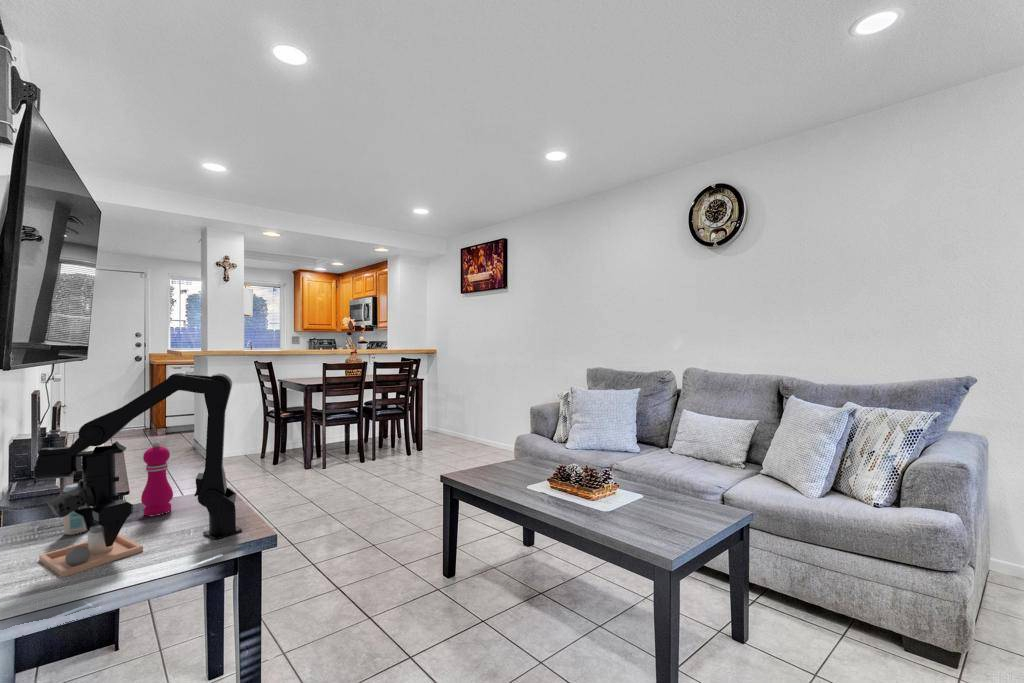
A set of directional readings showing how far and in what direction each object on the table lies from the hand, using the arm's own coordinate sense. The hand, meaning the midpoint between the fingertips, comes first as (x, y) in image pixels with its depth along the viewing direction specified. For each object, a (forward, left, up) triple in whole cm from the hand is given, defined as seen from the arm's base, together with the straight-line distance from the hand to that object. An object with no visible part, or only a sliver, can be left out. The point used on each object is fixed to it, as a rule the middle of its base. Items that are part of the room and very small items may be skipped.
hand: (100, 541), depth 112 cm
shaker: (0, 0, -2) cm, 2 cm away
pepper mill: (+18, -18, -3) cm, 26 cm away
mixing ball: (-5, +6, -2) cm, 8 cm away
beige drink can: (+20, -1, -3) cm, 20 cm away
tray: (-1, +2, -2) cm, 4 cm away
